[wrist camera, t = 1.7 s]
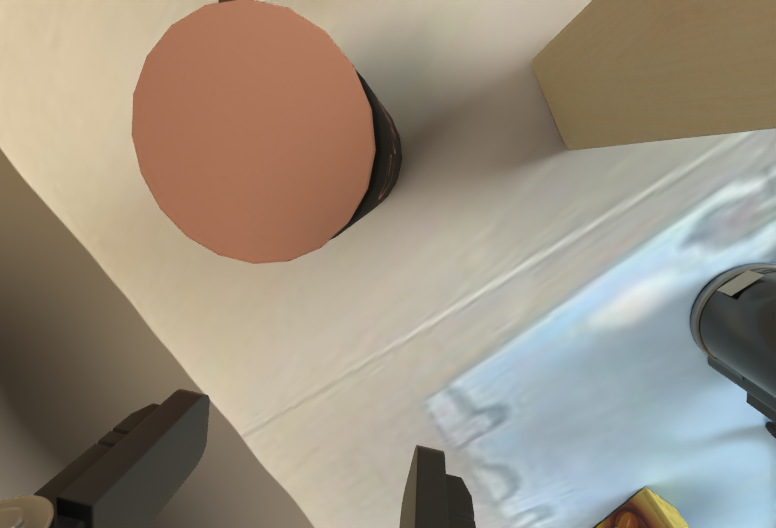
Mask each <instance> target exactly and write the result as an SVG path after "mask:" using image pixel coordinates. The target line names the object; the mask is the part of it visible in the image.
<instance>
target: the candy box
mask: <svg viewBox="0 0 776 528" xmlns="http://www.w3.org/2000/svg"><path fill="white" fill-rule="evenodd" d="M596 528H690V527H689V526H688V525H687V523H686V522H685V521H684V519H683V518H682V517H681V515H680V514H679V512H678V511H677V510H676V509H675V507H673V506H671V505H670V504H669V503H667V502H666V501H664V500H663V499H662V498H660V497H659V496H658V495H656V494H655V493H653V492H652V491H651V490H649V489H648V488H647V487H644V488H643V489H642V490H641V491H639V492H638V493H637V494H636V495H634V496H633V497H632V498H631V499H629V500H628V501H627V502H626V503H625V504H624V505H623V506H621V507H620V508H619V509H618V510H616V511H615V512H614V513H613V514H611V515H610V516H609V517H608V518H607V519H605V520H604V521H603V522H602V523H600V524H599V525H598V526H597V527H596Z"/></svg>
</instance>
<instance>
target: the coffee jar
mask: <svg viewBox="0 0 776 528" xmlns="http://www.w3.org/2000/svg"><path fill="white" fill-rule="evenodd" d="M132 138H133V142H134V146H135V150H136V154H137V158H138V162H139V167H140V171H141V174H142V176H143V178H144V180H145V182H146V184H147V185H148V187H149V189H150V191H151V193H152V194H153V196H154V198H155V200H156V202H157V204H158V205H159V207H160V209H161V210H162V211H163V212H164V213H165V214H166V215H167V216H168V217H169V218H170V219H171V220H172V221H173V222H174V223H175V225H176V226H177V227H178V228H179V229H180V230H181V231H182V232H183V233H184V234H185V235H186V236H187V237H189V238H191V239H192V240H194V241H196V242H197V243H199V244H201V245H202V246H204V247H206V248H208V249H209V250H211V251H213V252H214V253H216V254H218V255H221V256H225V257H229V258H233V259H237V260H241V261H245V262H249V263H254V264H255V263H269V262H283V261H290V260H293V259H295V258H297V257H300V256H302V255H304V254H307V253H309V252H312V251H314V250H316V249H319V248H321V247H322V246H323V245H324V244H325V243H327V242H328V241H329V240H330V239H333V238H335V237H336V236H338V235H339V234H341V233H342V232H343V231H345V230H346V229H347V228H349V227H350V226H351V225H353V224H354V223H355V222H357V221H358V220H359V219H361V218H362V217H363V216H365V215H366V214H367V213H369V212H370V211H372V210H373V209H374V208H375V207H376V206H377V205H379V204H380V203H381V202H382V201H383V200H384V199H385V198H386V197H387V196H388V195H389V193H390V191H391V190H392V188H393V186H394V184H395V183H396V181H397V179H398V175H399V170H400V166H401V161H402V155H401V143H400V137H399V135H398V132H397V130H396V127H395V125H394V122H393V120H392V118H391V117H390V115H389V114H388V112H387V111H386V110H385V108H384V107H383V105H382V104H381V103H380V101H379V100H378V98H377V97H376V96H375V94H374V93H373V91H372V90H371V89H370V87H369V86H368V84H367V83H366V82H365V80H364V79H363V78H362V77H361V75H360V74H359V73H358V72H357V71H356V69H355V68H354V65H353V64H352V63H351V62H350V61H349V59H348V58H347V57H346V56H345V55H344V53H343V52H342V51H341V50H340V49H339V47H338V46H337V45H336V44H335V43H334V41H333V40H332V39H331V38H330V37H329V35H328V34H327V33H326V32H325V31H324V30H323V29H321V28H319V27H318V26H316V25H315V24H313V23H311V22H310V21H308V20H307V19H305V18H303V17H302V16H300V15H299V14H297V13H295V12H294V11H292V10H291V9H289V8H287V7H282V6H277V5H273V4H268V3H263V2H259V1H254V0H234V1H228V2H222V3H216V4H210V5H205V6H203V7H201V8H200V9H198V10H196V11H195V12H193V13H191V14H190V15H188V16H186V17H185V18H183V19H181V20H180V21H178V22H176V23H175V24H173V25H171V27H170V28H169V29H168V30H167V32H166V33H165V34H164V35H163V37H162V38H161V39H160V40H159V42H158V43H157V44H156V46H155V47H154V48H153V49H152V51H151V52H150V53H149V54H148V56H147V57H146V60H145V63H144V66H143V69H142V72H141V74H140V77H139V80H138V83H137V86H136V89H135V91H134V94H133V119H132Z"/></svg>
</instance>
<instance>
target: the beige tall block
mask: <svg viewBox="0 0 776 528" xmlns="http://www.w3.org/2000/svg"><path fill="white" fill-rule="evenodd" d="M532 66H533V69H534V72H535V74H536V77H537V79H538V82H539V84H540V87H541V89H542V91H543V94H544V96H545V99H546V101H547V104H548V106H549V108H550V111H551V113H552V115H553V118H554V120H555V123H556V125H557V128H558V130H559V132H560V135H561V137H562V139H563V142H564V144H565V146H566V148H567V149H568V150H580V149H588V148H599V147H608V146H616V145H626V144H634V143H643V142H652V141H661V140H671V139H680V138H690V137H699V136H708V135H718V134H727V133H737V132H746V131H754V130H762V129H772V128H776V0H592V1H591V2H590V3H589V4H588V5H587V6H586V7H585V8H584V9H583V10H582V11H581V12H580V13H579V14H578V15H577V16H576V17H575V18H574V19H573V20H572V21H571V22H570V23H569V24H568V25H567V26H566V27H565V28H564V29H563V30H562V31H561V32H560V33H559V34H558V35H557V36H556V37H555V38H554V39H553V40H552V41H551V42H550V43H549V44H548V45H547V46H546V47H545V48H544V49H542V50H541V51H540V52H539V53H538V54H537V55H536V56H535V57H534V58H533V59H532Z"/></svg>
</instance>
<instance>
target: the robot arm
mask: <svg viewBox="0 0 776 528" xmlns="http://www.w3.org/2000/svg"><path fill="white" fill-rule="evenodd" d="M691 332H692V335H693V338H694V340H695V342H696V344H697V345H698V346H699V348H700V349H701V350H702V351H703V352H704V353H706V354H707V355H708V364H709V365H710V366H711V367H712V368H714V369H715V370H717V371H718V372H719V373H721V374H722V375H724V376H725V377H727V378H728V379H730V380H731V381H732V382H734V383H735V384H737V385H738V386H740V387H741V388H742V389H744V390H745V391H747V403H749V404H750V405H751V406H753V407H754V408H755V409H757V410H758V411H759V412H761V413H762V414H764V415H765V416H766V417H768V418H769V419H770V420H772V421H773V422H768V423H766V428H767V430H768V431H769V432H770V433H771V434H772V435H773V436H774V437H775V438H776V265H774V264H766V263H756V264H748V265H744V266H740V267H737V268H734V269H731V270H729V271H727V272H725V273H723V274H722V275H720V276H718V277H717V278H716V279H714V280H713V281H712V282H711V283H710V284H708V286H707V287H706V288H705V289H704V290H703V291H702V292H701V294H700V295H699V297H698V298H697V300H696V302H695V304H694V307H693V310H692V314H691ZM209 403H210V400H209V396H208V395H205V394H201V393H197V392H193V391H188V390H184V389H179V390H177V391H176V392H174V393H173V394H172V395H171V396H170V397H169V398H168V399H167V400H165V401H164V402H163V403H162V404H161V405H157V404H151V405H149V406H147V407H145V408H142V409H140V410H138V411H136V412H134V413H132V414H130V415H129V416H128V417H127V418H126V419H124V420H123V421H122V422H121V423H120V424H118V425H117V426H116V427H115V428H114V429H113V431H112V432H111V431H110V432H109V433H107V434H106V435H105V436H104V437H102V438H101V439H100V440H99V442H98V443H97V444H94V445H93V446H92V447H91V448H89V449H88V450H87V451H86V452H85V453H83V454H82V455H81V456H79V457H78V458H77V459H76V460H75V461H74V462H72V463H71V464H70V465H69V466H67V467H66V468H65V469H64V470H63V471H61V472H60V473H59V474H58V475H56V476H55V477H54V478H53V479H52V480H50V481H49V482H48V483H47V484H46V485H44V486H43V487H42V488H41V489H40V490H38V491H37V492H36V493H35V494H33V495H23V496H17V497H12V498H9V499H5V500H2V501H0V528H149V526H150V525H151V524H152V522H153V521H154V520H155V519H156V517H157V516H158V515H159V513H160V512H161V511H162V510H163V508H164V507H165V506H166V505H167V503H168V502H169V501H170V499H171V498H172V497H173V496H174V494H175V493H176V492H177V490H178V489H179V488H180V487H181V485H182V484H183V483H184V481H185V480H186V479H187V478H188V476H189V475H190V474H191V472H192V471H193V470H194V468H195V467H196V466H197V464H198V462H199V461H200V459H201V457H202V455H203V453H204V450H205V446H206V442H207V431H208V416H209ZM774 422H775V423H774ZM400 528H476V526H475V521H474V511H473V504H472V497H471V495H470V493H469V491H468V489H467V487H466V486H465V484H464V482H463V480H462V478H461V477H456V476H452V475H448V474H446V470H445V454H444V451H440V450H436V449H432V448H428V447H423V446H419V445H417V446H416V448H415V451H414V455H413V459H412V463H411V467H410V471H409V475H408V479H407V483H406V487H405V491H404V496H403V502H402V508H401V517H400Z"/></svg>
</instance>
